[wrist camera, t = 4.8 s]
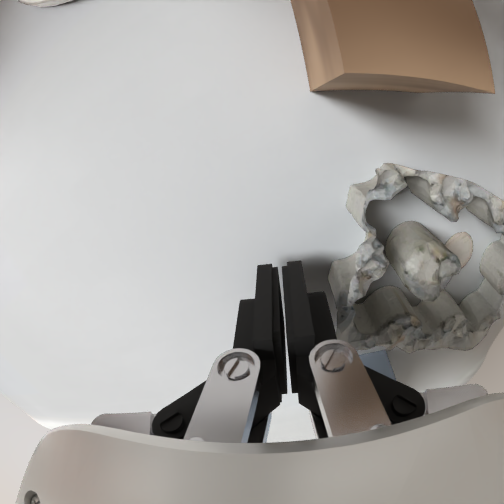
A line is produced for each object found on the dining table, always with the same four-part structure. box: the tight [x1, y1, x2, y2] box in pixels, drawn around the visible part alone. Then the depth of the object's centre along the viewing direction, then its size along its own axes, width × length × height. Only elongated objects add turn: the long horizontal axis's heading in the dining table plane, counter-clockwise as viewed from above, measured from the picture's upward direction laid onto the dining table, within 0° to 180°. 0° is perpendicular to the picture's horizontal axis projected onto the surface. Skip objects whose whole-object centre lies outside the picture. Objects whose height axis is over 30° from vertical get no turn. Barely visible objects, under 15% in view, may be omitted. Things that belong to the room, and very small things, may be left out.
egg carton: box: [328, 163, 504, 354], centre depth 9 cm, size 11×8×4 cm
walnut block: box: [291, 0, 495, 94], centre depth 5 cm, size 4×4×4 cm
